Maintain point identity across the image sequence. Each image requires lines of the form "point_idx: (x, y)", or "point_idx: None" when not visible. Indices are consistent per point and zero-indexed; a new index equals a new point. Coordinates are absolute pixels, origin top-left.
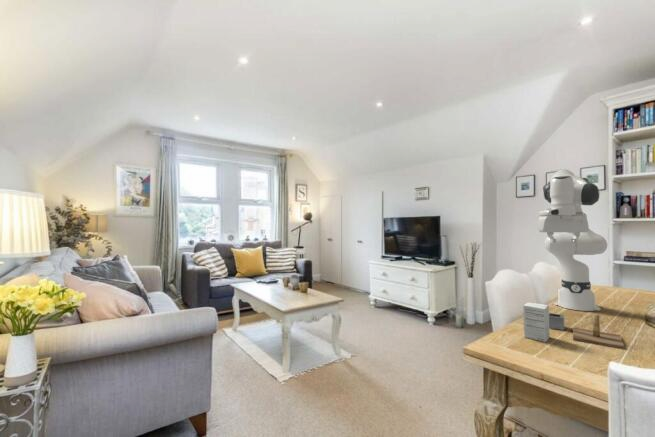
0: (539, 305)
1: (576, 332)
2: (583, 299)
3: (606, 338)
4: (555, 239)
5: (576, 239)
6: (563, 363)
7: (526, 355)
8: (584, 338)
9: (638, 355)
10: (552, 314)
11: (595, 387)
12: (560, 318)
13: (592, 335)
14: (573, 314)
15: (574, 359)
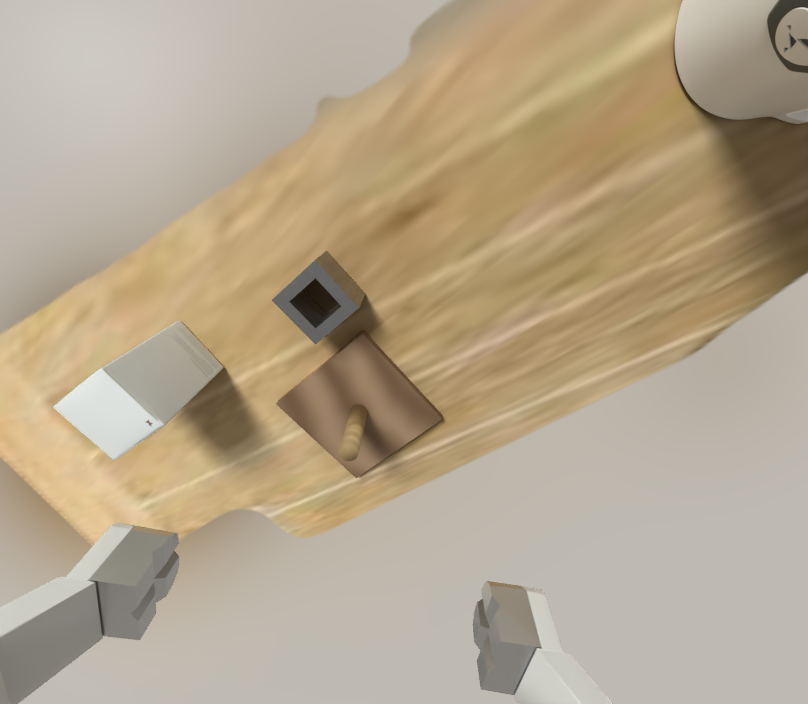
0: (119, 424)
1: (327, 374)
2: (767, 87)
3: (369, 430)
4: (137, 625)
5: (518, 681)
6: (136, 495)
7: (73, 449)
8: (302, 418)
9: (351, 501)
10: (321, 284)
11: None
12: (309, 335)
13: (352, 404)
14: (583, 150)
15: (177, 486)
